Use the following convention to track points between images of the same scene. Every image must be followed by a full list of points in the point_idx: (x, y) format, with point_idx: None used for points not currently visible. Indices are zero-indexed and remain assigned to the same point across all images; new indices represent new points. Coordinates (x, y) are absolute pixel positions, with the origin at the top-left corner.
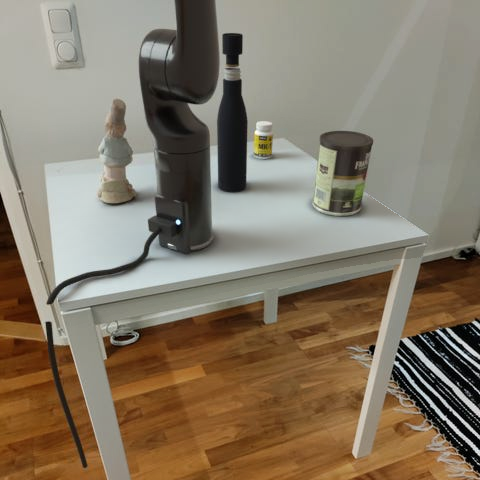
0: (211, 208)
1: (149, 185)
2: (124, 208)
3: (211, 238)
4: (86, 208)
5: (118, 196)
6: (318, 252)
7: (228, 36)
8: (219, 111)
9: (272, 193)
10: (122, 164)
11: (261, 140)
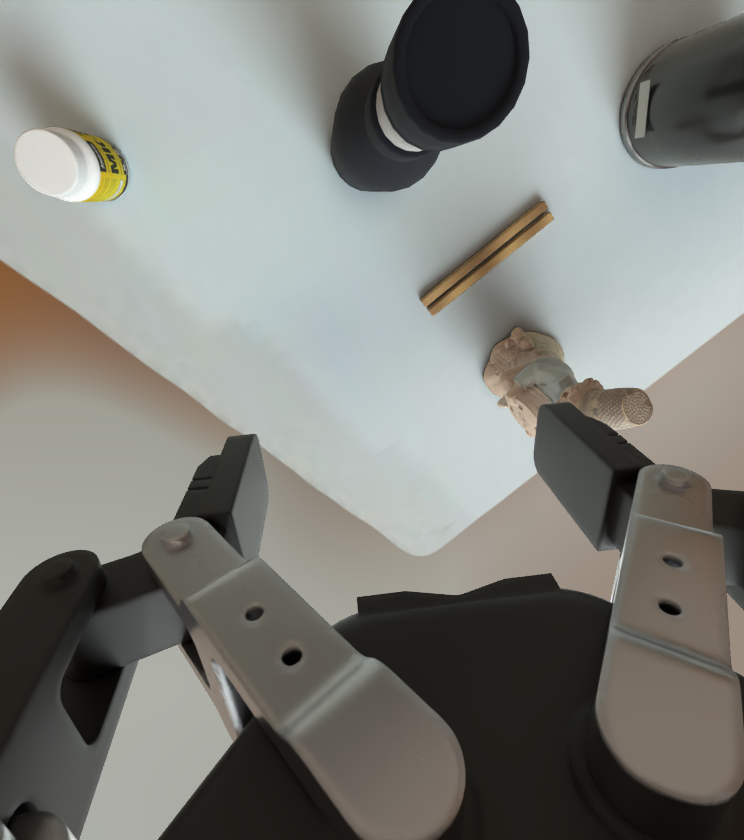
0: (714, 26)
1: (441, 343)
2: (563, 320)
3: (687, 36)
4: (581, 382)
5: (553, 346)
6: None
7: (527, 61)
8: (429, 167)
9: (358, 3)
10: (561, 362)
11: (104, 160)
